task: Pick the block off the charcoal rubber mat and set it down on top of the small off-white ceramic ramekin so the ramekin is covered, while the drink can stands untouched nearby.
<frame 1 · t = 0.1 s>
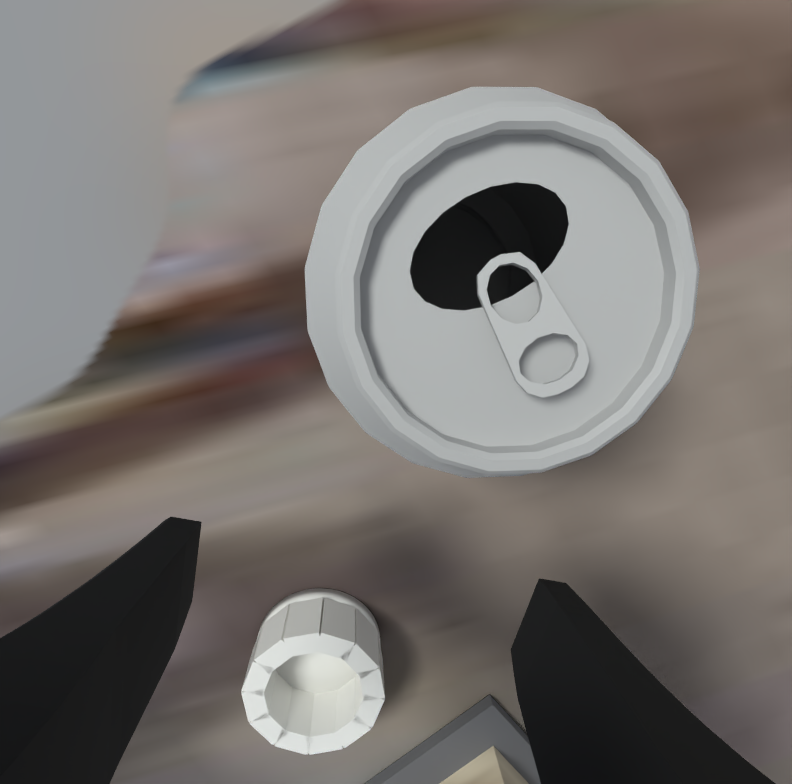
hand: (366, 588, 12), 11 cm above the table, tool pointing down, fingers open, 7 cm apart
can: (430, 282, 21), on the table
bowl: (319, 642, 24), on the table
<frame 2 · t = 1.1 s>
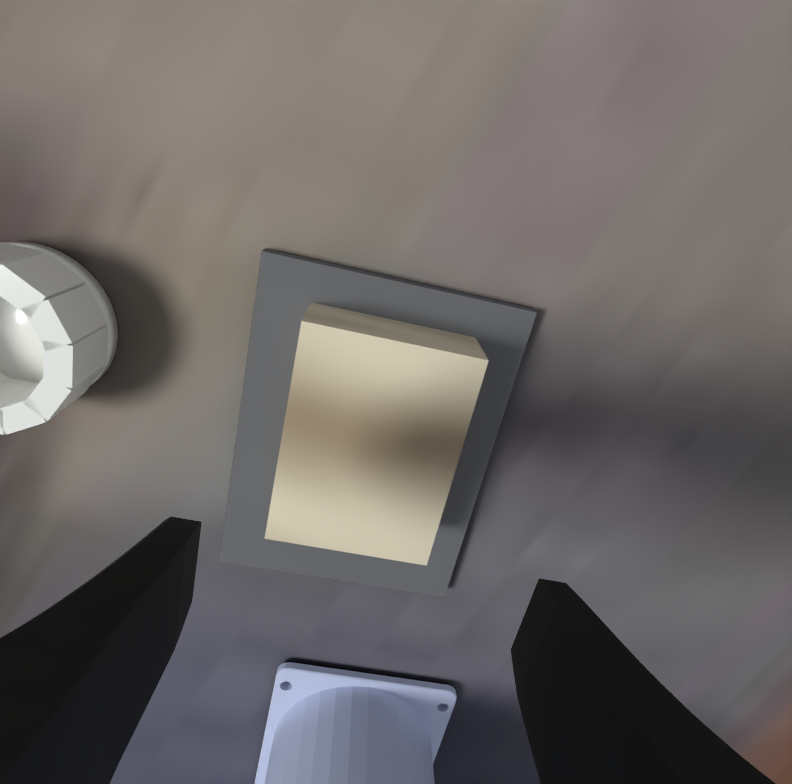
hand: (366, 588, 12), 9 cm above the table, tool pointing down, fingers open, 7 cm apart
mat: (365, 439, 20), on the table
block: (370, 422, 19), point 1 cm above the table, touching mat
bowl: (37, 321, 18), on the table
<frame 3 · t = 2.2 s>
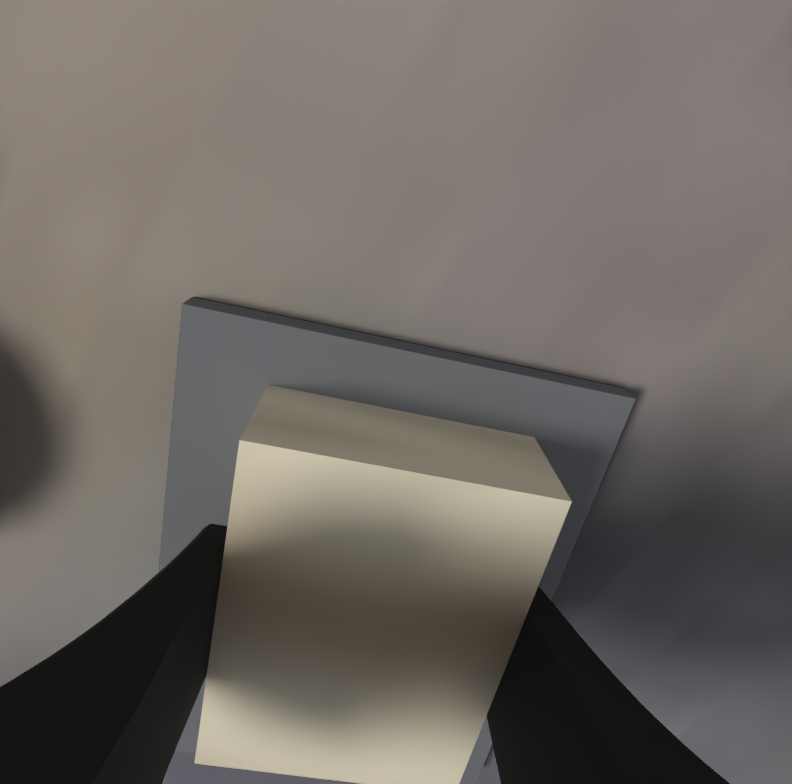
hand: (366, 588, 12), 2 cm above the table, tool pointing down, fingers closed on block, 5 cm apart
mat: (358, 577, 13), on the table
block: (366, 560, 12), point 1 cm above the table, touching gripper, mat
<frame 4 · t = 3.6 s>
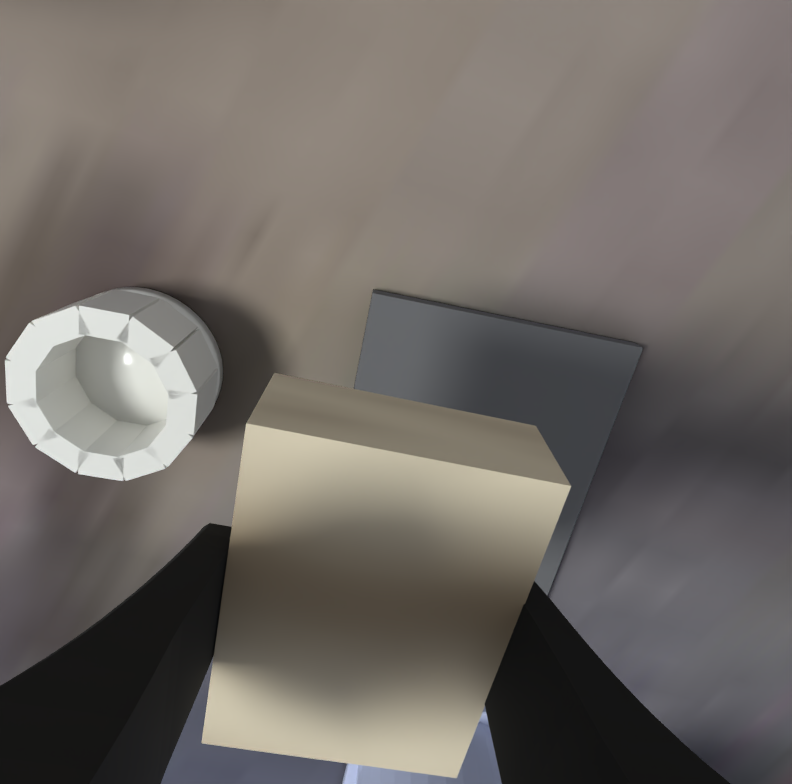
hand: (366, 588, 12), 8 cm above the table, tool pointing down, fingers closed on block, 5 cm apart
mat: (462, 473, 20), on the table
block: (370, 547, 13), point 7 cm above the table, touching gripper
bowl: (143, 364, 19), on the table
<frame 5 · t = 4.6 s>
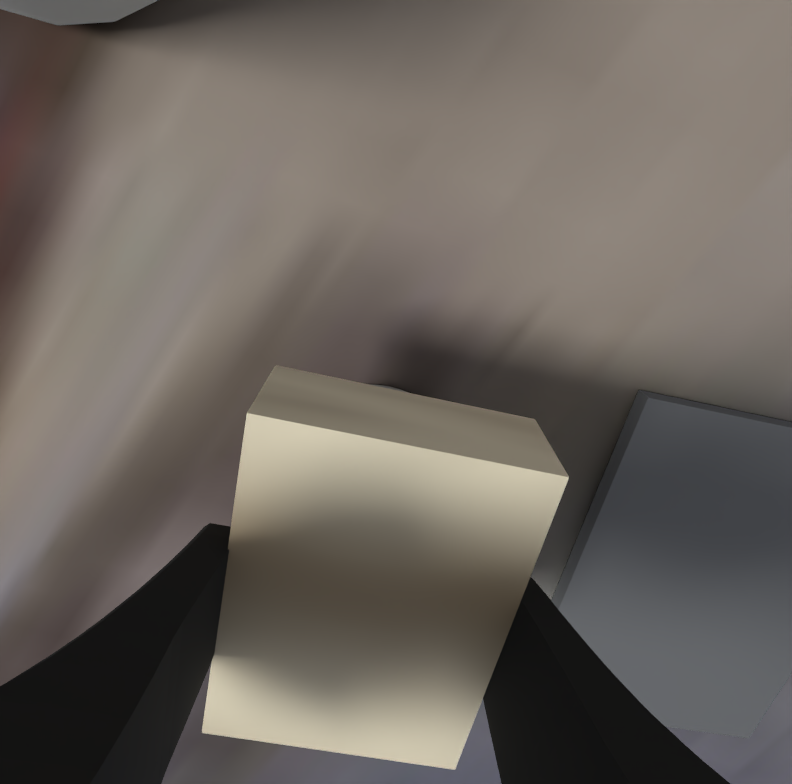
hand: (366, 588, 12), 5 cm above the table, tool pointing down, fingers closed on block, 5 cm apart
mat: (696, 580, 18), on the table
block: (370, 540, 13), point 4 cm above the table, touching gripper
when the fingers open (5 cm above the table, at t = 5.1 s): block stays where it is, resting on bowl.
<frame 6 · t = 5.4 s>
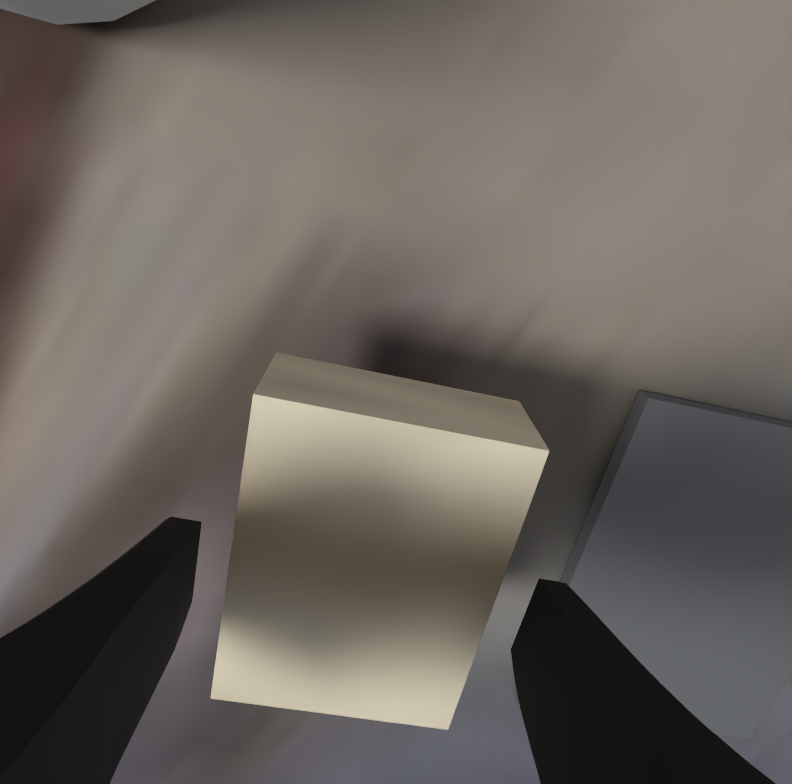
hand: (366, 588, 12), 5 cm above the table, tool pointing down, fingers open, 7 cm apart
mat: (696, 580, 18), on the table
block: (366, 517, 14), point 3 cm above the table, touching bowl
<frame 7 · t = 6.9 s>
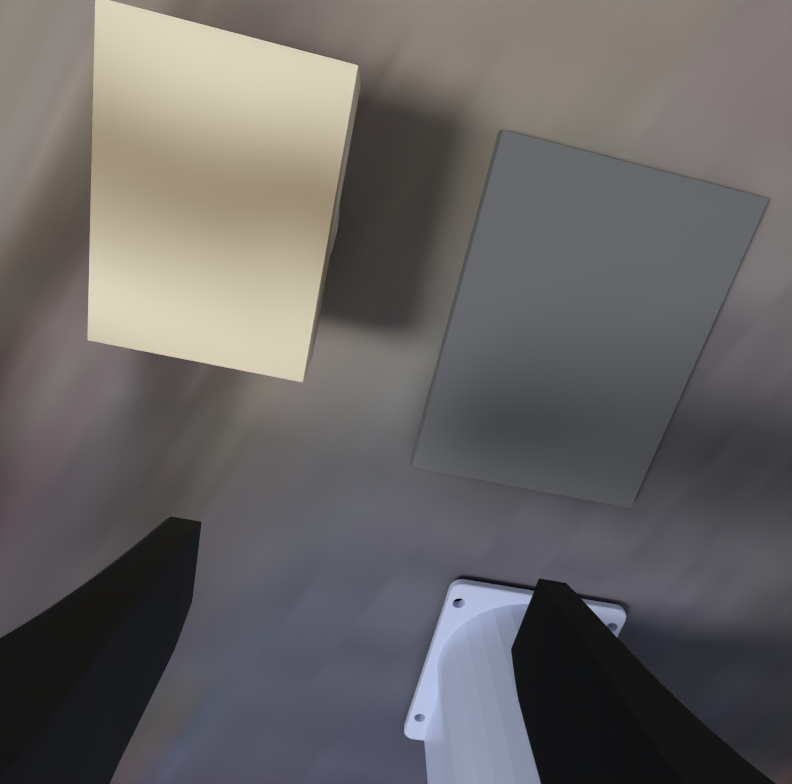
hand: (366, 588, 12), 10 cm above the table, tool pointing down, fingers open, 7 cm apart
mat: (569, 339, 20), on the table
block: (236, 207, 15), point 3 cm above the table, touching bowl
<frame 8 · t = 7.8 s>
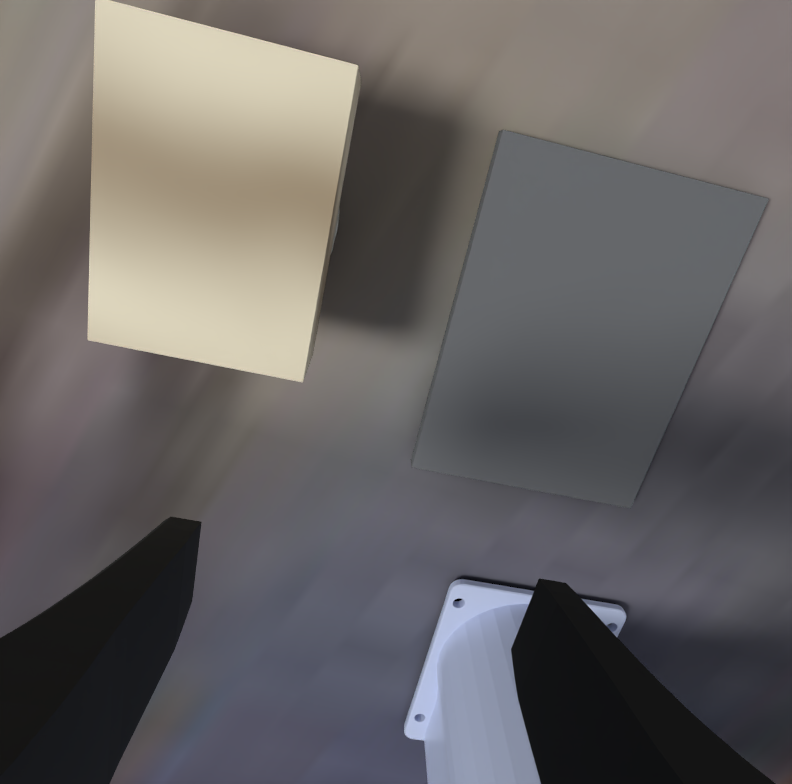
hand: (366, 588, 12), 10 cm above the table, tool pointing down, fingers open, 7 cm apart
mat: (569, 339, 20), on the table
block: (236, 207, 15), point 3 cm above the table, touching bowl
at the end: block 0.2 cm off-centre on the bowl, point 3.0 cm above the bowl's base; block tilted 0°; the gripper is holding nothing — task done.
